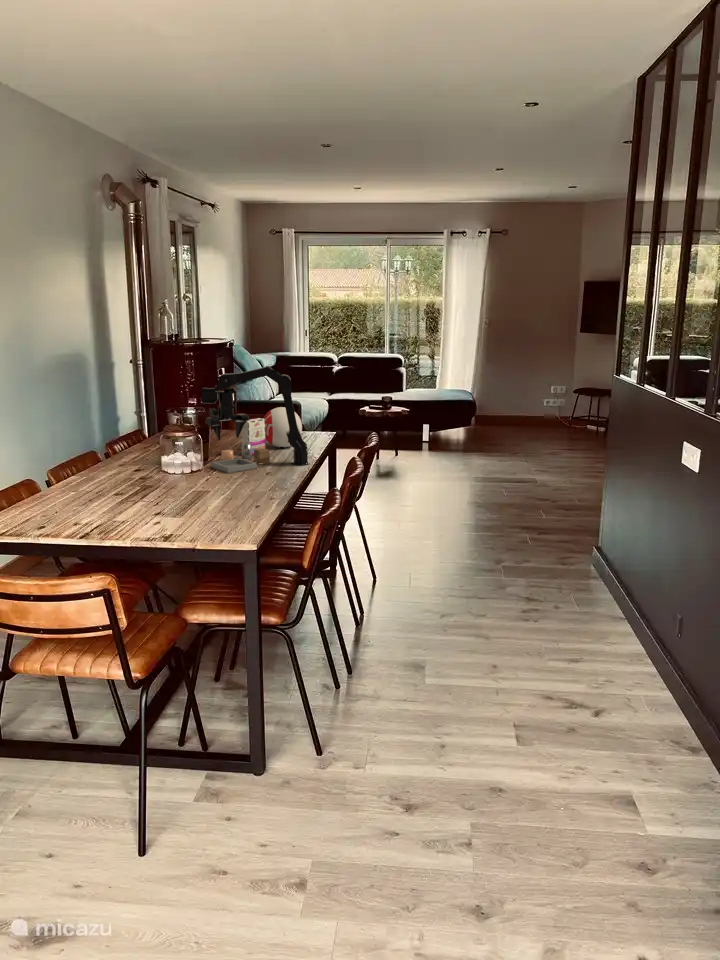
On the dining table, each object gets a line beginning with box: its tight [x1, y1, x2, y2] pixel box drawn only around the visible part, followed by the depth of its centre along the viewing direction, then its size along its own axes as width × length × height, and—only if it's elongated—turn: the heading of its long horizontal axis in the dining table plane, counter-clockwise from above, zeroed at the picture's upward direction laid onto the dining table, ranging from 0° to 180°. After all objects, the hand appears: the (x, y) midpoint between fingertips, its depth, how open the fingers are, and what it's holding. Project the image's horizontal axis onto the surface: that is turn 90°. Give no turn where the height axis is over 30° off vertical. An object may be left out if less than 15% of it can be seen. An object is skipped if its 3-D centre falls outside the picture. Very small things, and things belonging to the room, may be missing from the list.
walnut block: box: [253, 448, 271, 464], centre depth 330 cm, size 5×5×6 cm
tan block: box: [221, 449, 235, 461], centre depth 331 cm, size 5×5×5 cm
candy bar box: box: [241, 417, 267, 456], centre depth 348 cm, size 11×5×16 cm, turn 143°
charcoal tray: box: [211, 457, 258, 474], centre depth 318 cm, size 14×14×2 cm
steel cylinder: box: [241, 443, 253, 460], centre depth 337 cm, size 4×4×7 cm
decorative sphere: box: [263, 406, 303, 448], centre depth 365 cm, size 20×20×20 cm
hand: (228, 438), depth 323 cm, fingers open, 9 cm apart
